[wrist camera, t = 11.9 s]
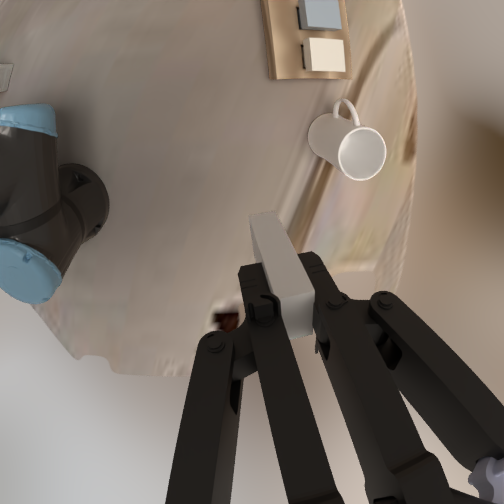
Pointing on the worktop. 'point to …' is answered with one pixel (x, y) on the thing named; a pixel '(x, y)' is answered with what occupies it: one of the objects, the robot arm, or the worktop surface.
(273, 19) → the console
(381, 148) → the mug
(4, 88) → the small box
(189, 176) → the worktop surface
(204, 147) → the worktop surface
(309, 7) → the slate key
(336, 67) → the ivory key
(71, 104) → the worktop surface
